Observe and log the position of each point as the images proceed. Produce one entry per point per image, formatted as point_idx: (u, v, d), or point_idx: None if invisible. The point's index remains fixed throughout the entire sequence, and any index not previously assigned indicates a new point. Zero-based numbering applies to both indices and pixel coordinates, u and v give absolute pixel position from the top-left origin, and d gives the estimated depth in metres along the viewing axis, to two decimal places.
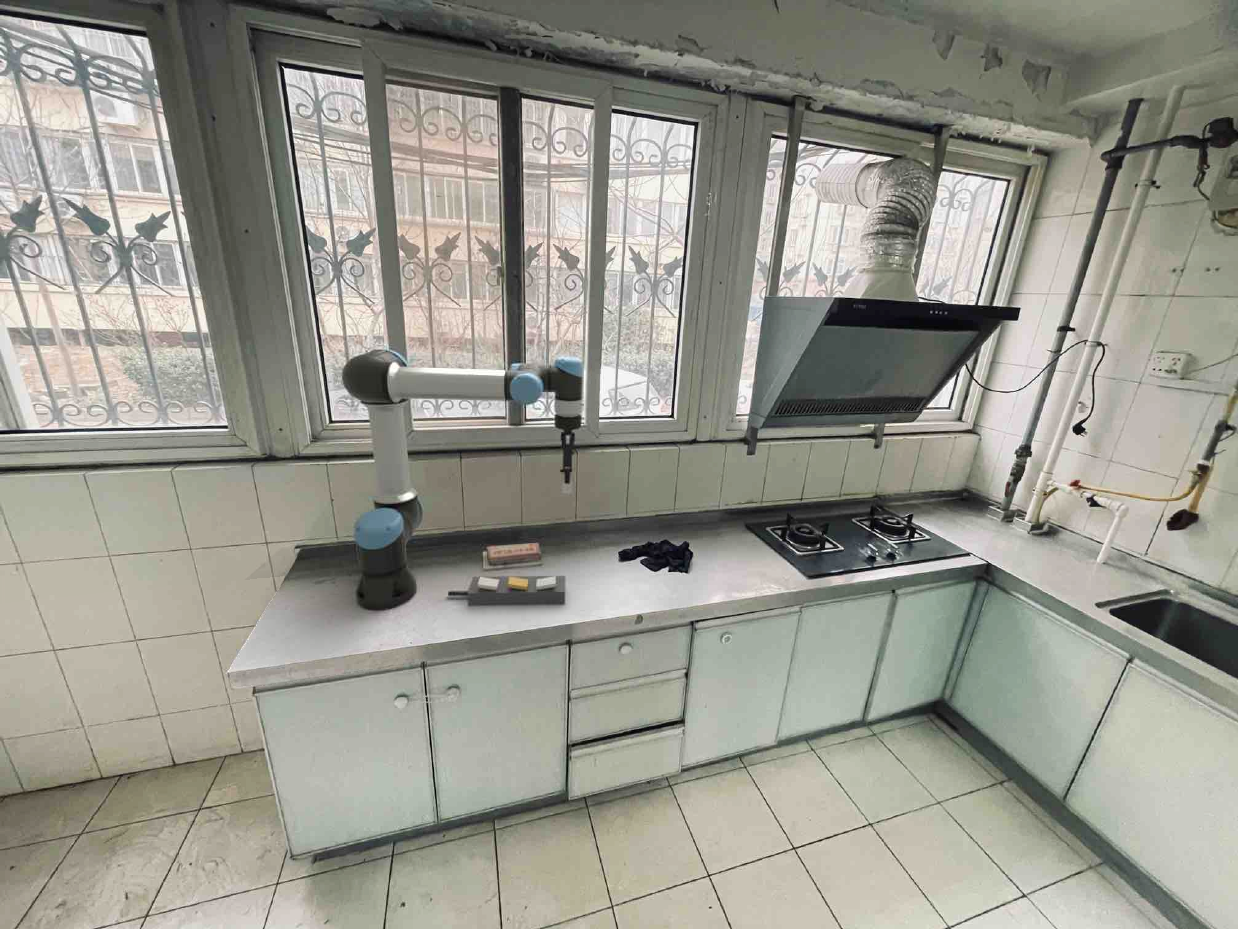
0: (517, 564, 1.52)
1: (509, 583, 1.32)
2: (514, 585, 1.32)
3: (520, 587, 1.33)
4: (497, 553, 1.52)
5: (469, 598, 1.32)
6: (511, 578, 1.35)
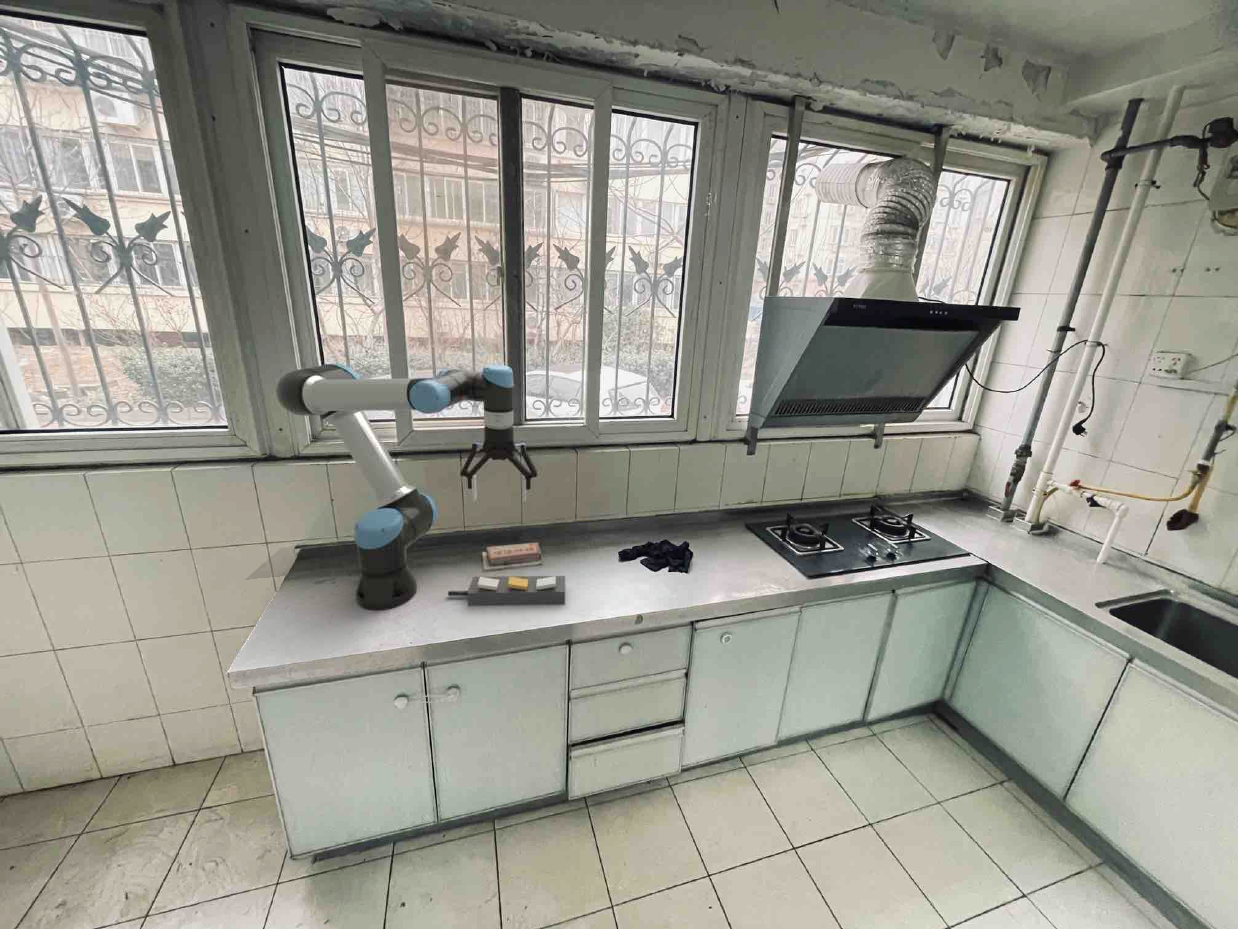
0: (517, 564, 1.52)
1: (509, 583, 1.32)
2: (514, 585, 1.32)
3: (520, 587, 1.33)
4: (498, 553, 1.51)
5: (469, 598, 1.32)
6: (511, 578, 1.35)
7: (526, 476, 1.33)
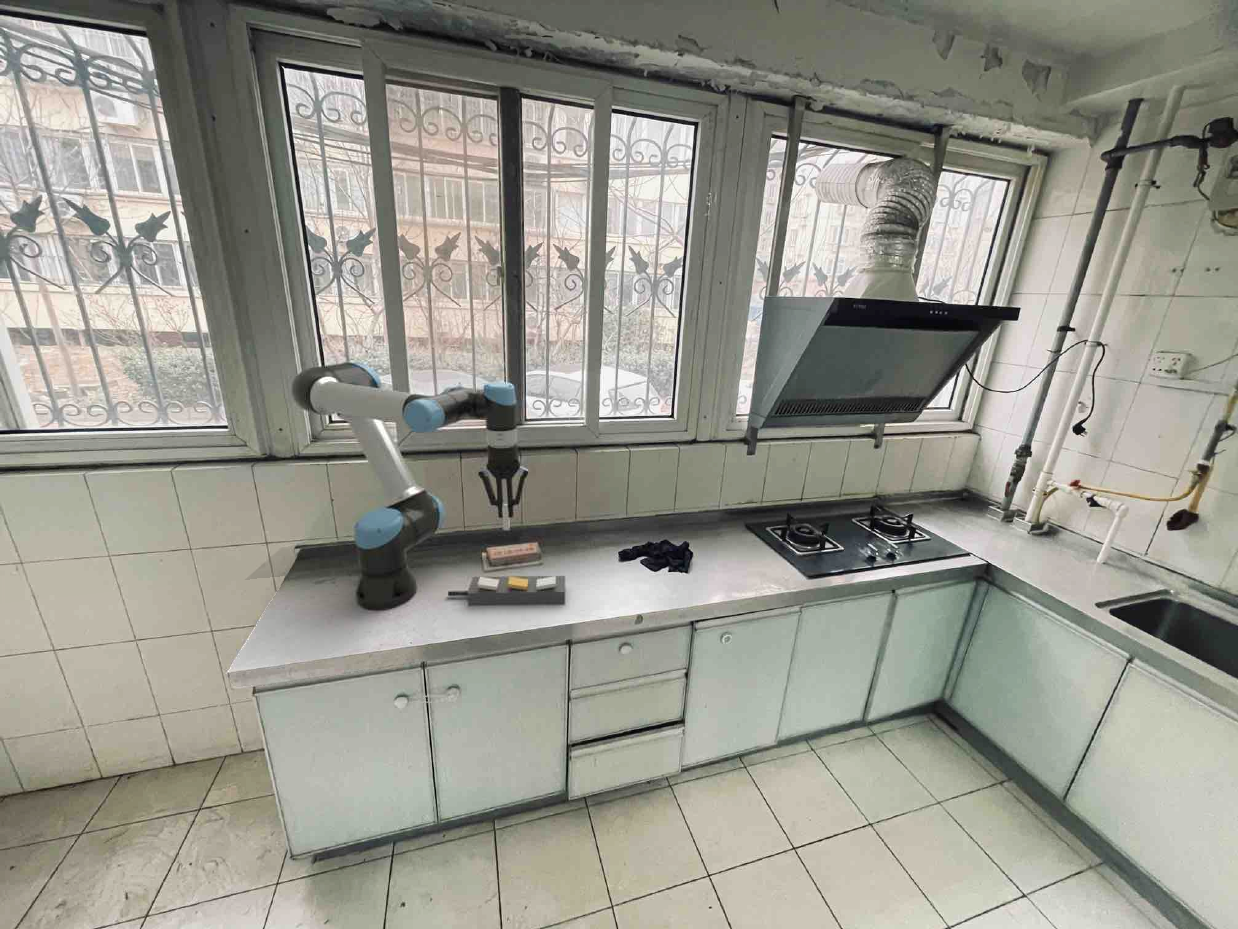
0: (518, 564, 1.52)
1: (509, 583, 1.32)
2: (514, 585, 1.32)
3: (520, 587, 1.33)
4: (498, 554, 1.51)
5: (469, 598, 1.32)
6: (511, 578, 1.35)
7: (509, 503, 1.28)
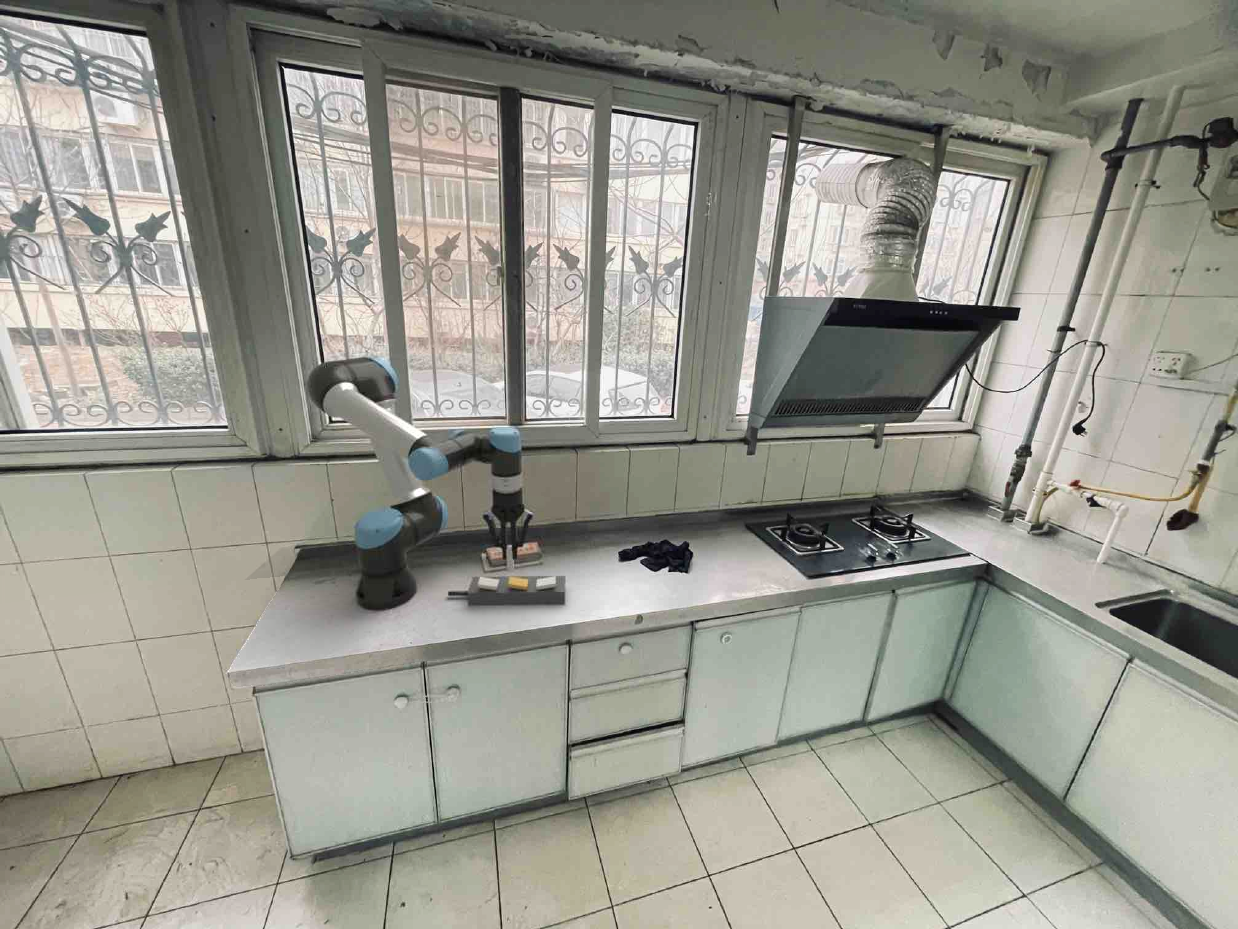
0: (518, 564, 1.52)
1: (509, 583, 1.32)
2: (514, 585, 1.32)
3: (520, 587, 1.33)
4: (498, 554, 1.51)
5: (469, 598, 1.32)
6: (511, 578, 1.35)
7: (513, 545, 1.29)
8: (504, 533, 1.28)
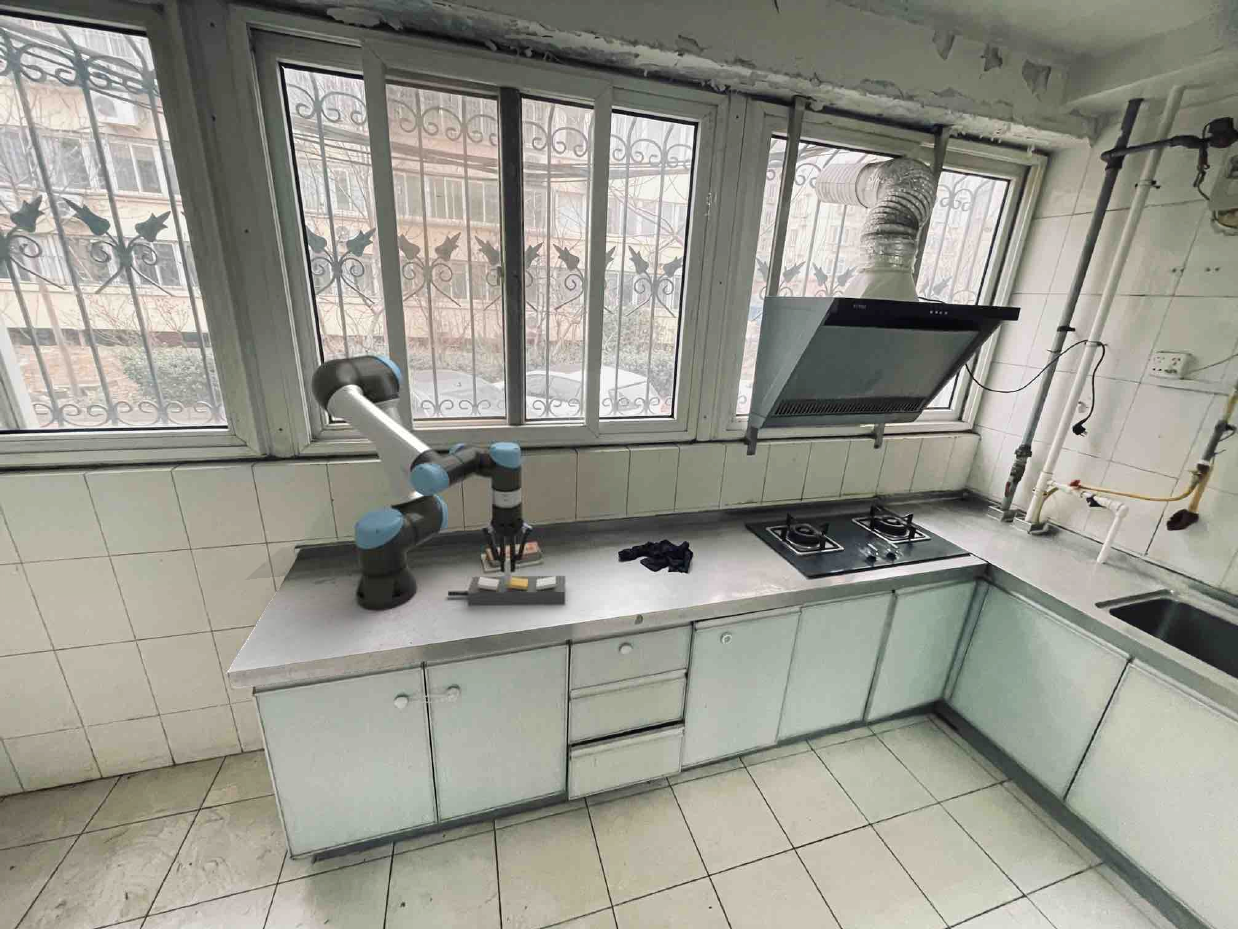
0: (519, 564, 1.52)
1: None
2: (514, 585, 1.32)
3: (520, 587, 1.33)
4: None
5: (469, 598, 1.32)
6: None
7: (511, 559, 1.30)
8: (503, 546, 1.29)
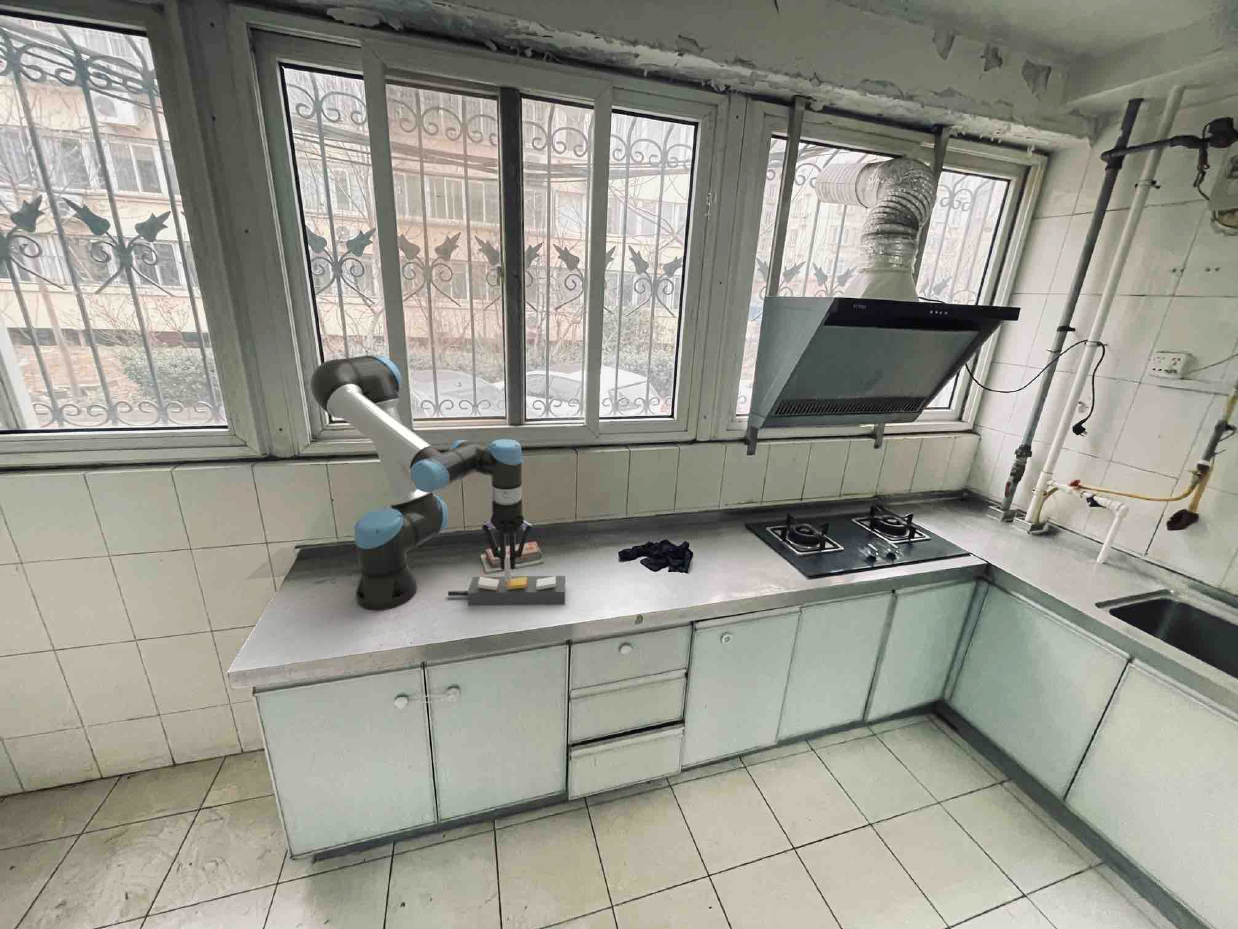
0: (519, 564, 1.52)
1: (507, 585, 1.33)
2: (513, 586, 1.33)
3: (519, 586, 1.33)
4: None
5: (469, 598, 1.32)
6: None
7: (511, 556, 1.30)
8: (503, 543, 1.29)
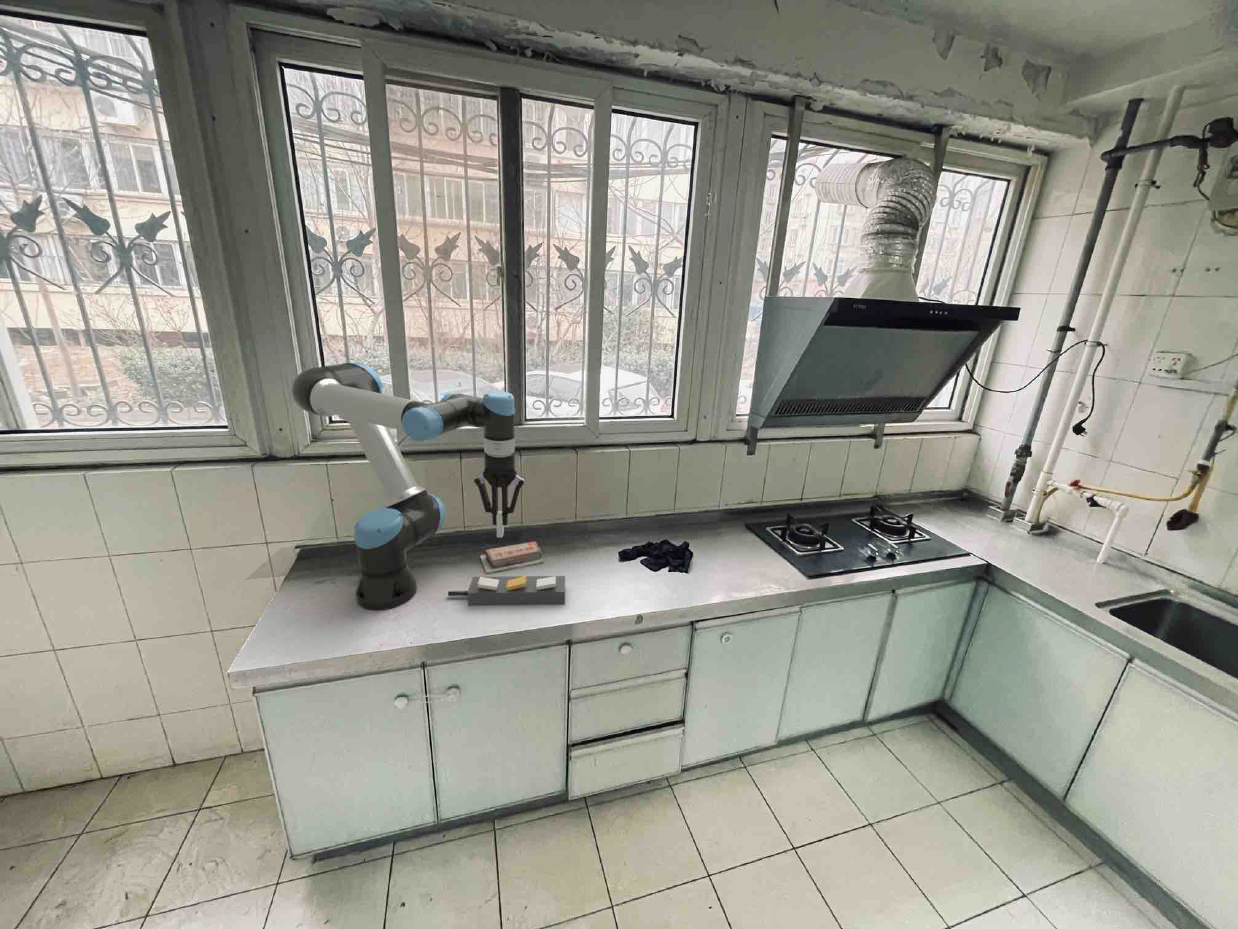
0: (519, 564, 1.52)
1: (507, 586, 1.33)
2: (512, 586, 1.33)
3: (519, 586, 1.33)
4: (499, 555, 1.50)
5: (469, 598, 1.32)
6: (509, 581, 1.35)
7: (503, 511, 1.29)
8: (495, 498, 1.28)
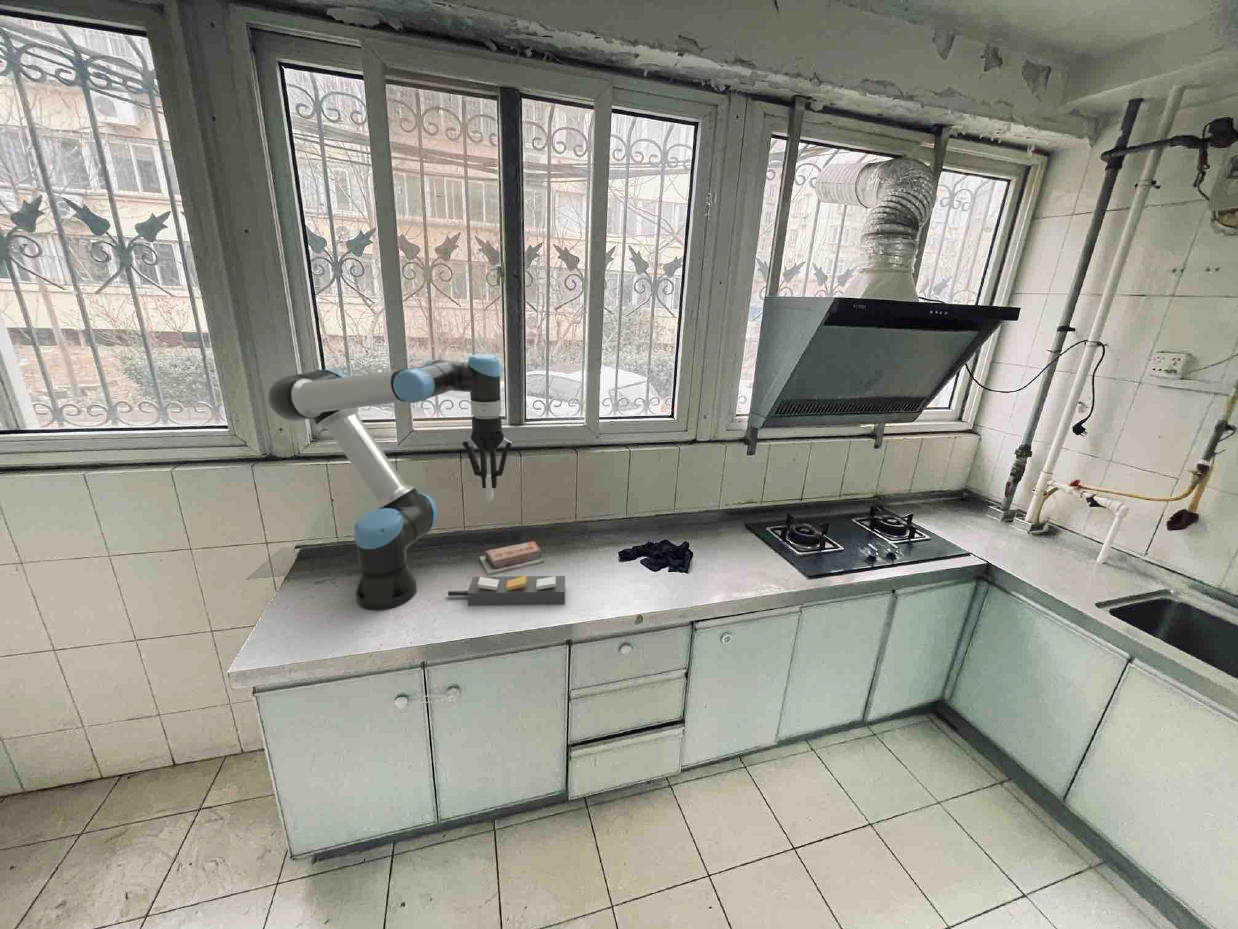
0: (520, 564, 1.52)
1: (507, 586, 1.33)
2: (512, 586, 1.33)
3: (519, 586, 1.33)
4: (499, 556, 1.50)
5: (469, 598, 1.32)
6: (509, 581, 1.35)
7: (492, 474, 1.32)
8: (483, 461, 1.30)
